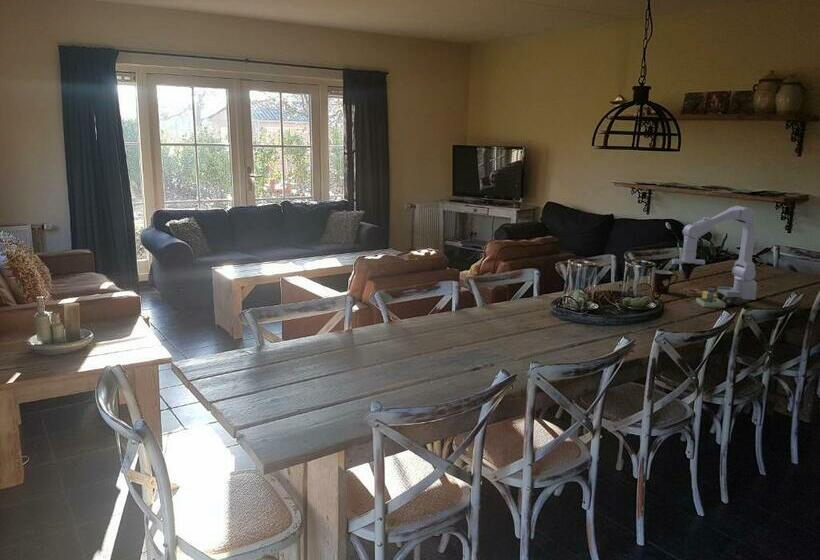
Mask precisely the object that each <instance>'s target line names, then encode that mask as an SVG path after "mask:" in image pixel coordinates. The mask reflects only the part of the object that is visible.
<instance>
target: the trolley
mask: <svg viewBox="0 0 820 560" xmlns="http://www.w3.org/2000/svg"><path fill="white" fill-rule="evenodd" d="M716 290H717V291H714V294H715V295H717V296H718V299H719V300H721V301H723V302H724V303H726V306H730V305H732V304H734V305H735V306H737V307H739V306H741V305H743V303H744V299H743V298H741V292H740V291H738V290H736V289H734V288H733V287H732V286H717V289H716Z"/></svg>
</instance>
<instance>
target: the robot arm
mask: <svg viewBox="0 0 820 560" xmlns="http://www.w3.org/2000/svg"><path fill="white" fill-rule="evenodd" d="M730 219H733V220H735V221H737V222H738V223H740V224H741V226H742V234H741V239H740V240H741V241H740V249H739V255H738V259H736V260H735V261H734V266H733V267H732V270H731V274H732V275H733V278H734V280H733V281H734V282H733V287H732V288H734V289H736V290H738V291H740V292H741V298H743V300H747V301H749V300H750V301H752V300H753V301H754V300H757V296H756V295H757V289H758V284H757V282H756V280H755V278H756V274H757V273H756V265H755V263H754V262H753V255H754V254H753V253H754V252H753V251H754V246H755V239H756V234H757V233H756V232H757V227H758V226H757V225H758V221H757V219H756V212H755V210H753V208H751V207H745V206H740V205H733V206H731V207H728V208H727V209H726V210H724V211H723V212H720V213H718V214H717V215H715V216H713V217H711V218H710V217H706V216H705V217H702V219H701V220H699V221H694V222H693V223H692V224H690V223H689V224H686V225H685V226H684V227H683V229H682V235H683V249H682V258H675V259H674V258H673V259H672V260H671V264H672V265H680V266H681V268H682V272H683V276H684V279H685V280H686V281H687V280H690V278H691V277H690V276H691V275H692V272H693V271H694V270H695V268H696V265H705V264H706V260H705V259H697V258H696V257H697V248H698V247H697V246H698V241H699V240H698V238H700V237H701V235H702V234H703V233H707V232H708V231H710V230H713V229H714V227H715V225H717V224H721V223H723V222H725V221H728V220H730Z"/></svg>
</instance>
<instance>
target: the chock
mask: <svg viewBox="0 0 820 560" xmlns="http://www.w3.org/2000/svg"><path fill="white" fill-rule="evenodd" d="M702 292H703V294H702V297H701V298H707V296H708V290H703V291H702ZM713 298H718V296H717V295H715V293H714V294H713Z"/></svg>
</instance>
